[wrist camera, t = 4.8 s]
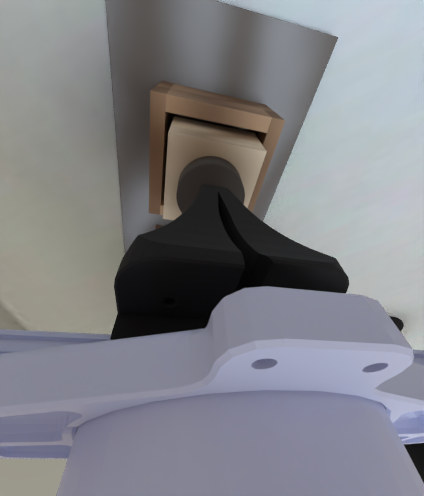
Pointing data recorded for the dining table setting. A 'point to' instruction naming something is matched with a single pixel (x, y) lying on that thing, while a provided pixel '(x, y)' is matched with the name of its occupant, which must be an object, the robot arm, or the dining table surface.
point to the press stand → (204, 90)
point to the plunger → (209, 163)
